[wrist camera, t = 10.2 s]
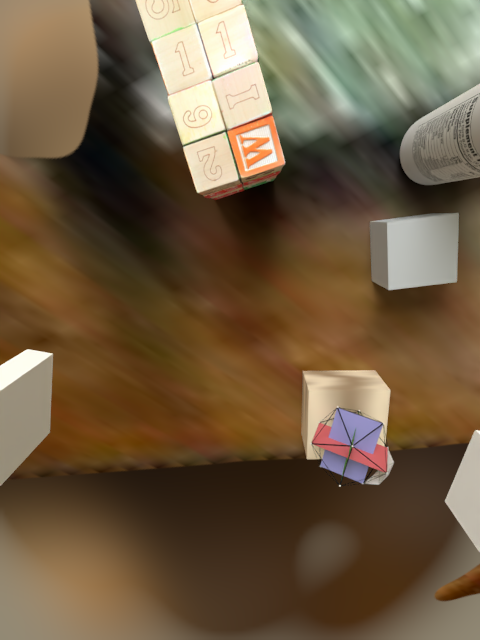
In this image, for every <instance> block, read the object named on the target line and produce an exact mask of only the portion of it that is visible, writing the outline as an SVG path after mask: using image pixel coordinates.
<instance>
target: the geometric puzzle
mask: <svg viewBox="0 0 480 640" xmlns="http://www.w3.org/2000/svg"><path fill="white" fill-rule="evenodd" d="M336 409H337V410H335V411H336V414H335V417H334V418H333V419H334V420H333V424H332V427H330V426H327V425H326V423H327V422H328V420H332V419H330V418H331V417H330V418H329V419H328V420H326V421H327V422H326V423H325V424H322V423H321V422H319V425H318V427H317V430H316V432H315V435H314V437H313V440H312V443H310V444H311V445H312V444H313V445H315V446H318V447H321V448H323V449H325V451H324V455H323V458H321V457H320V458H321V459H322V462H320V467H323V468H325V469H328V470H329V471H333V472H335V473H338V474H340V475H342V478H341V482H342V479H343V476H345V477H347V478H350V479H352V480H355V481H356V482H360V483H362V484H373V485H379V484H380V483H381V482H382V481H383V480H384V479H385V478H386V477H387V476H388V475H389V473H390V471H391V469H392V466H393V464H394V461H393V459H392V456H391V454H390V452H389V449H388V448H389V447H388V446H386V445H385V446H386V447H384V446H382V445H379V444H377V441H378V438H380V437H379V435H380V432H381V429H382V427H383V428H384V423H382V422H380V421H378V420H377V421H376V420H373V419H370V418H367V417H364V416H363V415H359V412H360V410H359V411H357V410H355V411H357V412H358V414H356V412H350V411H347V410H344V409H345V408H343V409H342V408H340V407H338V406H337V408H336ZM349 410H351V409H349ZM333 411H334V410H333ZM333 411H332V412H333ZM335 411H334V412H335ZM332 412H331V413H332ZM334 412H333V413H334ZM360 413H361V412H360ZM361 414H362V413H361ZM332 415H333V414H332ZM332 415H331V416H332ZM326 417H327V416H326ZM326 417H325V418H326ZM325 418H324V419H325ZM322 422H325V421H322ZM384 431H385V428H384ZM385 436H386V434H385ZM385 436H384V442H383V441H382V442H383V443H384V444H385ZM380 439H381V438H380ZM381 440H382V439H381ZM386 442H387V440H386ZM313 445H312V446H313ZM313 448H314V447H313ZM314 449H315V448H314ZM314 449H313V450H314ZM316 452H317V451H316ZM315 455H316V454H315ZM318 455H319V454H318ZM319 456H320V455H319ZM369 467H372V468H373V469H377V470H378V471H377V472H376V473H375V474H374V475H372V476H371V477H370V478H369V479H368V480H367V481H366V482H365V481H364V480H366V479H367V478H366V479H365V476H366V473H367V470H368V468H369ZM373 469H372V470H373ZM370 473H371V472H370ZM370 473H369V475H370ZM331 474H332V473H331ZM333 477H334V476H333ZM367 477H368V476H367ZM341 482H340V485H339V486H340V487H341ZM352 483H353V482H352ZM337 484H339V483H337ZM342 486H343V485H342Z"/></svg>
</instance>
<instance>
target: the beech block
mask: <svg viewBox="0 0 480 640" xmlns="http://www.w3.org/2000/svg"><path fill="white" fill-rule="evenodd" d="M389 400H390V389H389V388H388V386H387V385H386V384H385V383H384V381H383V380H382V379H381V377H380V376H379V375H378V373H377V372H376V371H375V370H363V371H303V383H302V430H301V434H302V438H303V443H304V448H305V452H306V457H307V459H321V458H323V455H324V451H325V449H323V448H321V447H318V446H315V445H313V444H312V445H313V446H312V445H311V444H310V443H312V440H313V437H314V435H315V432H316V430H317V427H318V425H319V422H321V423H322V424H325V423H326V422H327V421H326V420H328V419H329V418H330V417H331V418H330V419H332V420H328V422H327V423H326V425H327V426H330V427H332V424H333V420H334V419H333V418H334V417H335V414H336V411H335V410H337V409H336V408H337V406H338V407H340V408H342V409H343V408H345V409H344V410H347V411H350V412H356V414H358V412H357V411H359V410H360V412H361V413H362V414H361V413H360V412H359V415H363V416H364V417H367V418H370V419H373V420H376V421H377V420H378V421H380V422H382V423H384V428H385V431H384V428H383V427H382V429H381V432H380V435H379V437H380V438H381V439H382V440H381V439H380V438H378V441H377V444H379V445H382V446H384V447H385V444H384V443H383V442H384V436H385V434H386V431H387V421H388V410H389ZM349 409H351V410H349ZM333 410H334V411H335V412H334V411H333ZM355 410H357V411H355ZM332 411H333V412H334V413H333V412H332ZM331 412H332V413H331ZM332 414H333V415H332ZM331 415H332V416H331ZM326 416H327V417H326ZM325 417H326V418H325ZM324 418H325V419H324ZM322 421H325V422H322ZM382 441H383V442H382ZM385 442H386V436H385ZM313 447H314V448H315V449H314V448H313ZM313 449H314V450H313ZM316 451H317V452H316ZM315 454H316V455H315ZM318 454H319V455H320V456H319V455H318ZM320 457H321V458H320Z"/></svg>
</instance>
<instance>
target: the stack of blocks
mask: <svg viewBox="0 0 480 640" xmlns="http://www.w3.org/2000/svg"><path fill="white" fill-rule="evenodd" d="M135 1H136V4H137V7H138V10H139V13H140V16H141V19H142V21H143V24H144V27H145V30H146V33H147V36H148V39H149V42H150V43H151V45H152V47H153V50H154V53H155V56H156V60H157V63H158V66H159V69H160V71H161V75H162V78H163V81H164V84H165V87H166V90H167V92H168V97H167V98H168V102H169V105H170V108H171V112H172V114H173V117H174V120H175V123H176V127H177V130H178V133H179V136H180V139H181V142H182V144H183V146H184V147H183V150H184V154H185V157H186V160H187V163H188V166H189V169H190V173H191V176H192V179H193V182H194V185H195V188H196V191H197V193H198V194H201V195H203V196H204V197H205V198H212V199H214V200H217V199H220V198H223V197H226V196H229V195H232V194H235V193H238V192H241V191H244V190H246V189H249V188H252V187H255V186H258V185H261V184H265V183H267V182H271V181H273V180H274V179H275V178H276V176H277V175H278V174H279V173H280V172H281V168H282V167H283V166H284V165H285V160H284V156H283V152H282V148H281V145H280V141H279V137H278V133H277V130H276V126H275V122H274V118H273V116H272V108H271V104H270V100H269V97H268V93H267V90H266V86H265V83H264V79H263V76H262V72H261V69H260V65H259V58H258V53H257V49H256V45H255V42H254V38H253V35H252V31H251V27H250V24H249V20H248V17H247V13H246V10H245V7H244V5H243V2H242V0H135Z"/></svg>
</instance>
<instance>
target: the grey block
mask: <svg viewBox="0 0 480 640" xmlns="http://www.w3.org/2000/svg"><path fill="white" fill-rule="evenodd" d="M458 231H459V213H431V214H423V215H416V216H408V217H401V218H393V219H386V220H378V221H371V222H370V242H371V272H372V281H373V282H375V283H376V284H378V285H380V286H382V287H384V288H385V289H387V290H395V289H403V288H412V287H420V286H428V285H437V284H445V283H454V282H457V264H458Z"/></svg>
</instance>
